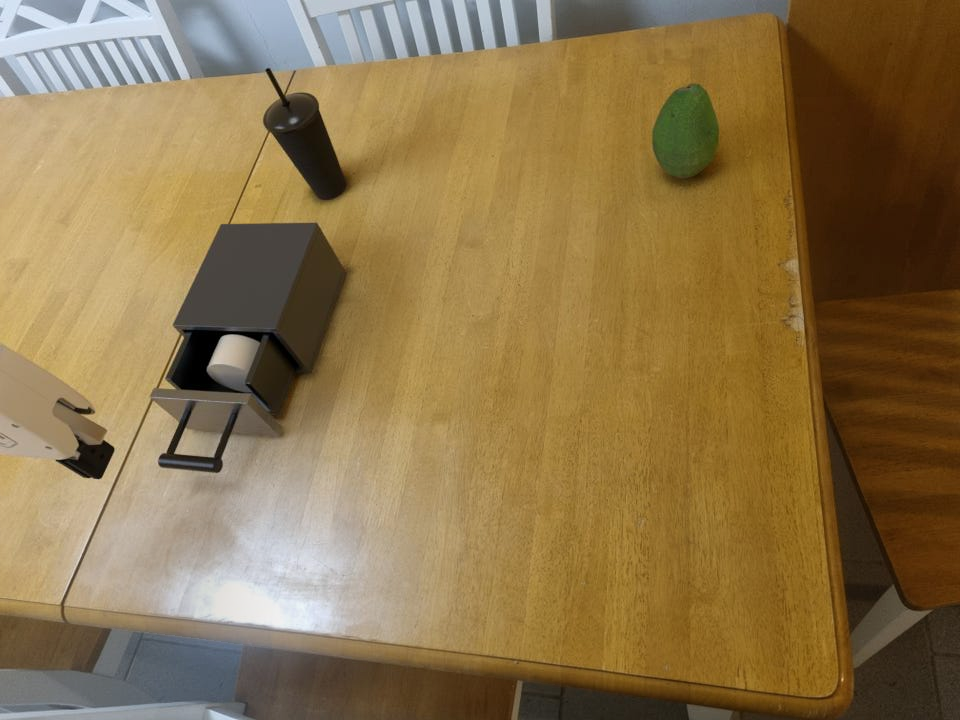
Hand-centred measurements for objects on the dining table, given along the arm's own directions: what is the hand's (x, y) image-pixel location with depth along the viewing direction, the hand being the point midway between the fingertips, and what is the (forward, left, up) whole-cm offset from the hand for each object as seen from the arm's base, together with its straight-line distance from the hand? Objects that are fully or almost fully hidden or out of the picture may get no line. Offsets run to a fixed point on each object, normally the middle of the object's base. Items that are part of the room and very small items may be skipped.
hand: (100, 463), depth 66 cm
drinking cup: (+44, +26, -17) cm, 54 cm away
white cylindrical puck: (+14, +7, -12) cm, 20 cm away
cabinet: (+24, +14, -17) cm, 33 cm away
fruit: (+70, -16, -17) cm, 74 cm away
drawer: (+13, +8, -16) cm, 22 cm away
